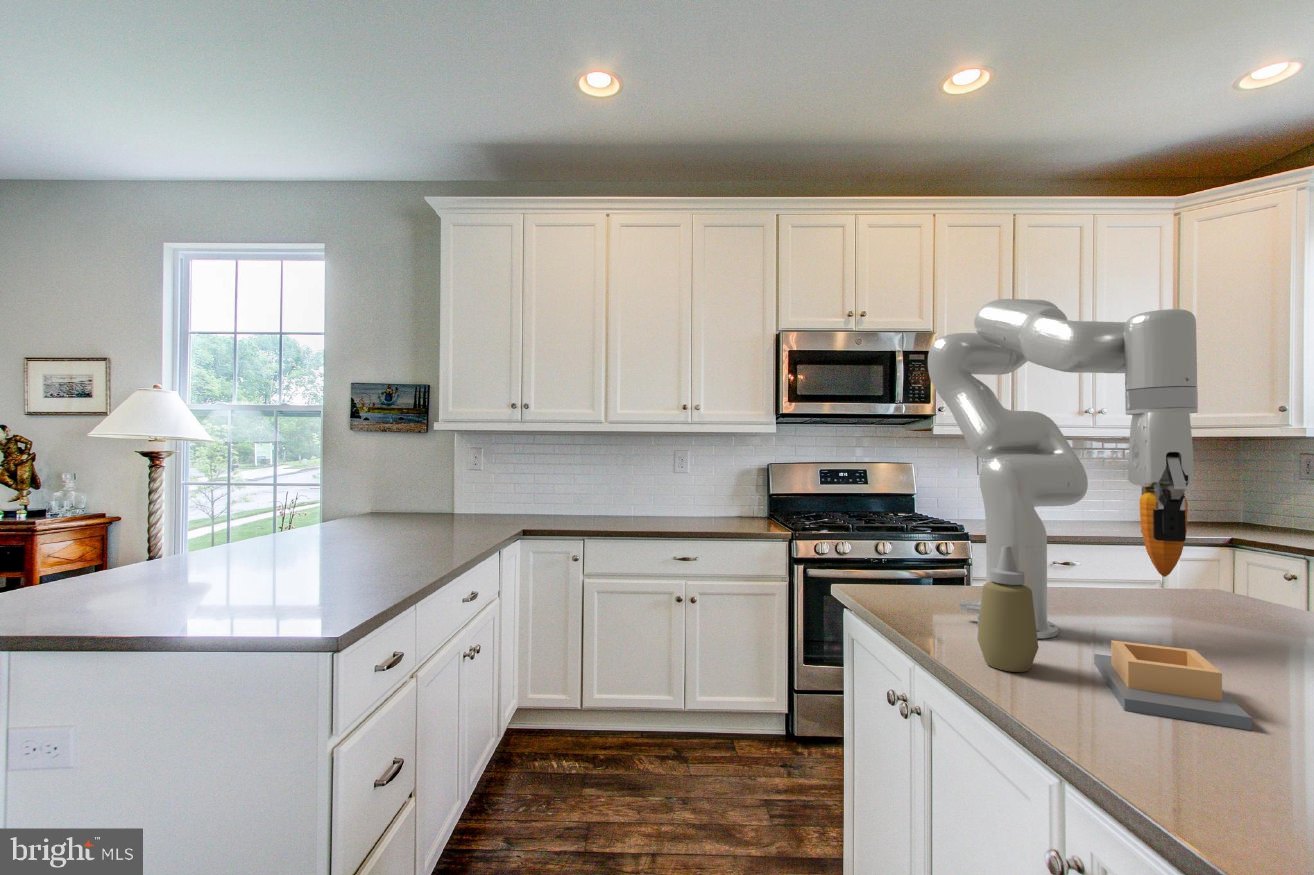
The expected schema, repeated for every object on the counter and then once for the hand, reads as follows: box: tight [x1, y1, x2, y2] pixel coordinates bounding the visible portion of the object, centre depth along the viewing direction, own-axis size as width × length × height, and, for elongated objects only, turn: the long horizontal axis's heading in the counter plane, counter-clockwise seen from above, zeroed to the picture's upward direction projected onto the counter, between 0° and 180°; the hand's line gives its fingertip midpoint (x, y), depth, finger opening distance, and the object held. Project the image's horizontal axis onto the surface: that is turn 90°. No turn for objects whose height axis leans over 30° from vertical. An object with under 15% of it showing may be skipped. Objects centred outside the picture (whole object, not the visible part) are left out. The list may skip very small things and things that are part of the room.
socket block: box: [1093, 639, 1253, 731], centre depth 81 cm, size 12×18×5 cm, turn 154°
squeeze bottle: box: [977, 546, 1039, 673], centre depth 91 cm, size 8×8×18 cm
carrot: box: [1139, 482, 1189, 578], centre depth 81 cm, size 5×5×15 cm
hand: (1162, 536), depth 81 cm, fingers closed on carrot, 4 cm apart
